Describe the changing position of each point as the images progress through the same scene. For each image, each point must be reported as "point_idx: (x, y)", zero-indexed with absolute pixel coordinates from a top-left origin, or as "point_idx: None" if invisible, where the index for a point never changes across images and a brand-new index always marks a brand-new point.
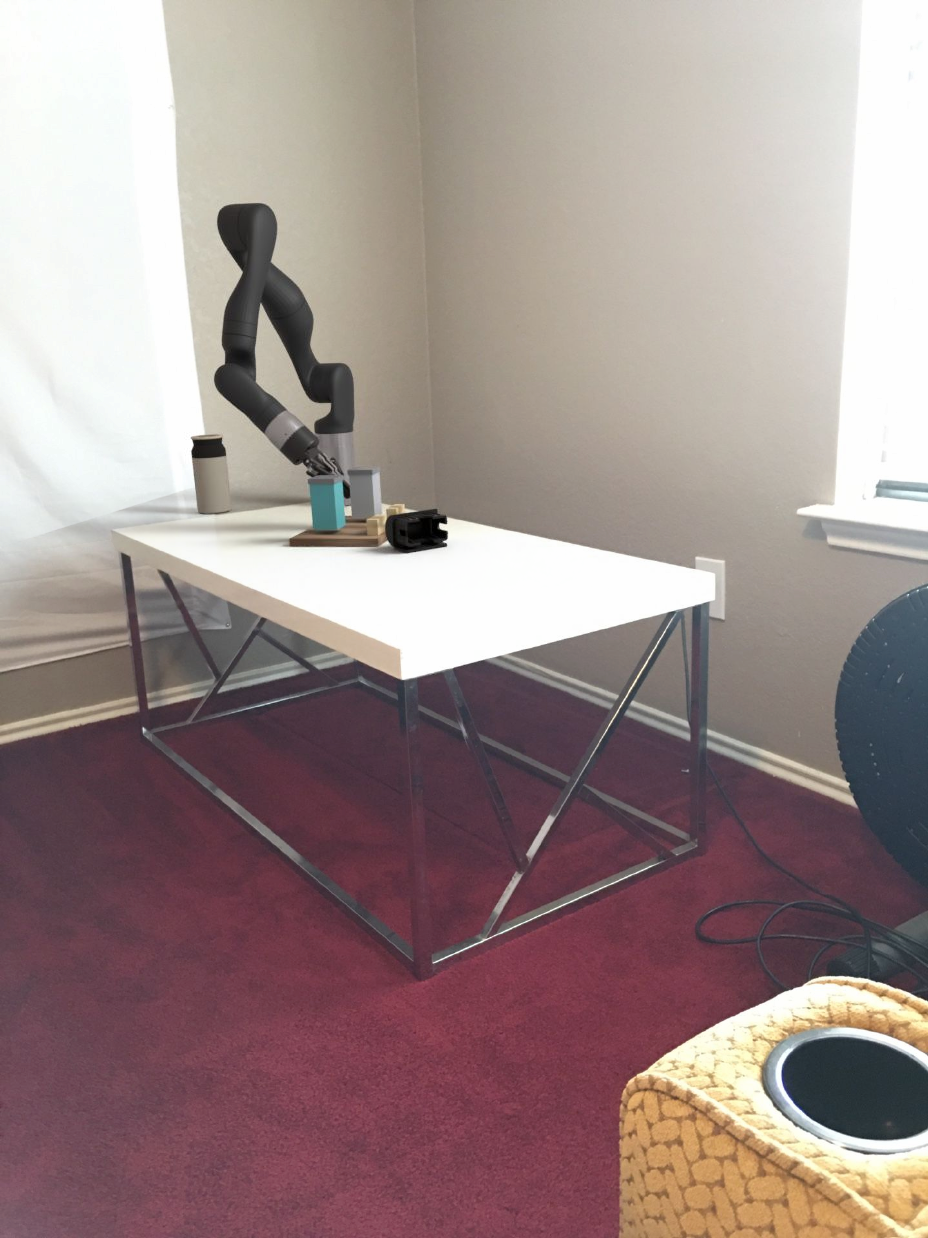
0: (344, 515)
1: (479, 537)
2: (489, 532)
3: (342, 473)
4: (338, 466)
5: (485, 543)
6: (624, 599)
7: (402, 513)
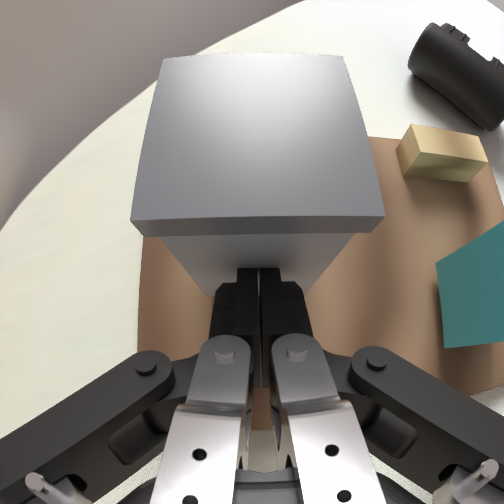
0: (455, 252)
1: (343, 27)
2: (295, 18)
3: (155, 362)
4: (68, 418)
5: (385, 25)
6: (499, 9)
7: (498, 72)
